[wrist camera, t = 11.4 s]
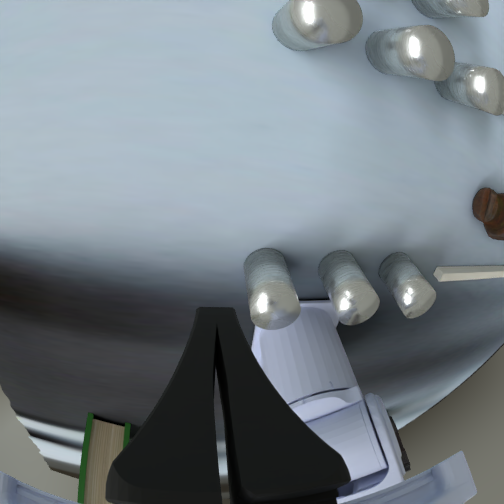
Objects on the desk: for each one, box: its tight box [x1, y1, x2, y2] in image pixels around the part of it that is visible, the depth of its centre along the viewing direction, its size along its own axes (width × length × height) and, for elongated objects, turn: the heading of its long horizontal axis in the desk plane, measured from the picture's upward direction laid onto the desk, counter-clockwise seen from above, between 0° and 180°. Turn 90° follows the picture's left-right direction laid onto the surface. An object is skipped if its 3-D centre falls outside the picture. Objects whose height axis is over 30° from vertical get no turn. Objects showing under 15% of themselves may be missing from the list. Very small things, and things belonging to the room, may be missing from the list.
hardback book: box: [78, 413, 131, 504], centre depth 31 cm, size 18×7×24 cm, turn 156°
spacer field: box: [244, 0, 504, 330], centre depth 15 cm, size 26×15×5 cm, turn 174°
